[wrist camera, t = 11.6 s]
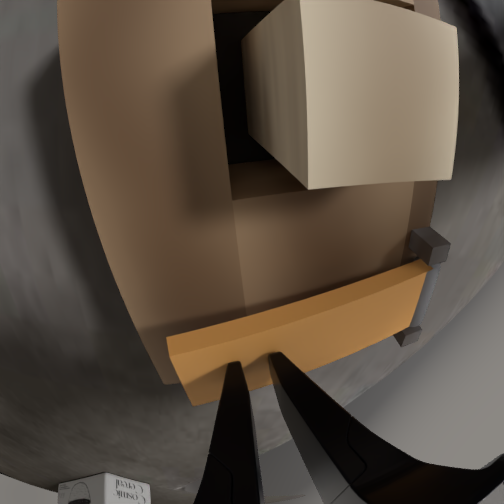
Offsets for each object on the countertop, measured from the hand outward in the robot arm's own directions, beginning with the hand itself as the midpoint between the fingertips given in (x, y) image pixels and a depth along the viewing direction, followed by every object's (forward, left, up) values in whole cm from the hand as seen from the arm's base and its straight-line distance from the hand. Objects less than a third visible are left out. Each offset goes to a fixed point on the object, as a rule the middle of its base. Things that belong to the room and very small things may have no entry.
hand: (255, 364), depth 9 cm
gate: (-3, 0, -1) cm, 3 cm away
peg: (-3, -8, -6) cm, 11 cm away
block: (-2, -4, -6) cm, 8 cm away
